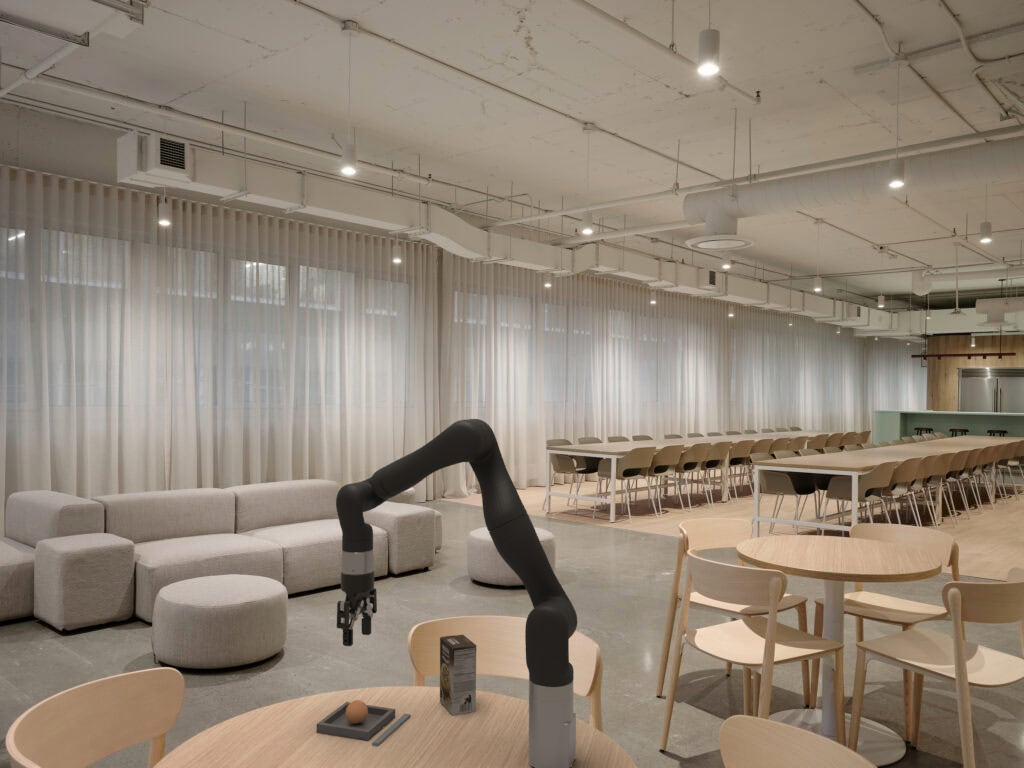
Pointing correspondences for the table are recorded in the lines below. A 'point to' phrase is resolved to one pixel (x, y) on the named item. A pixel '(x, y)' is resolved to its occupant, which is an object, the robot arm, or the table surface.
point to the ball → (356, 711)
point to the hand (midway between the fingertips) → (357, 639)
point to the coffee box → (457, 674)
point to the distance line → (391, 730)
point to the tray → (361, 731)
